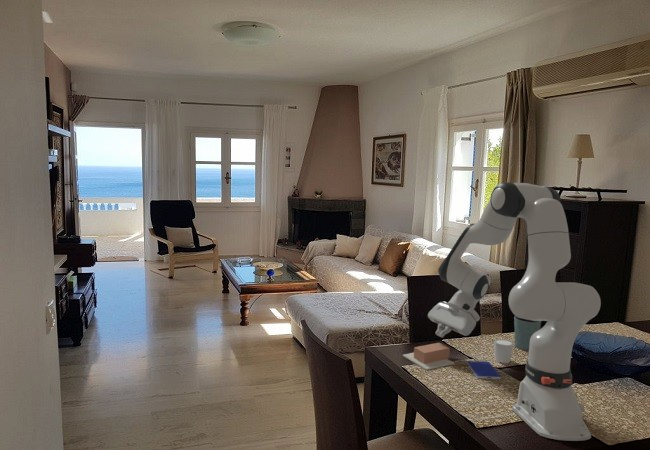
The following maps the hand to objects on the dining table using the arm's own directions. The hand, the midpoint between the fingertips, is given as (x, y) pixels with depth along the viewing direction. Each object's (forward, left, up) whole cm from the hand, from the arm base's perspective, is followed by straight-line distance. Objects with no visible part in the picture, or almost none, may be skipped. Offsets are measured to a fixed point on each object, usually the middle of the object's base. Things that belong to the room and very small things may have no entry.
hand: (438, 335), depth 177 cm
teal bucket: (+16, -38, -9) cm, 42 cm away
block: (+2, -3, -6) cm, 7 cm away
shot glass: (+1, -24, -9) cm, 26 cm away
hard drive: (-10, -14, -10) cm, 20 cm away
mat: (-2, +4, -9) cm, 10 cm away
